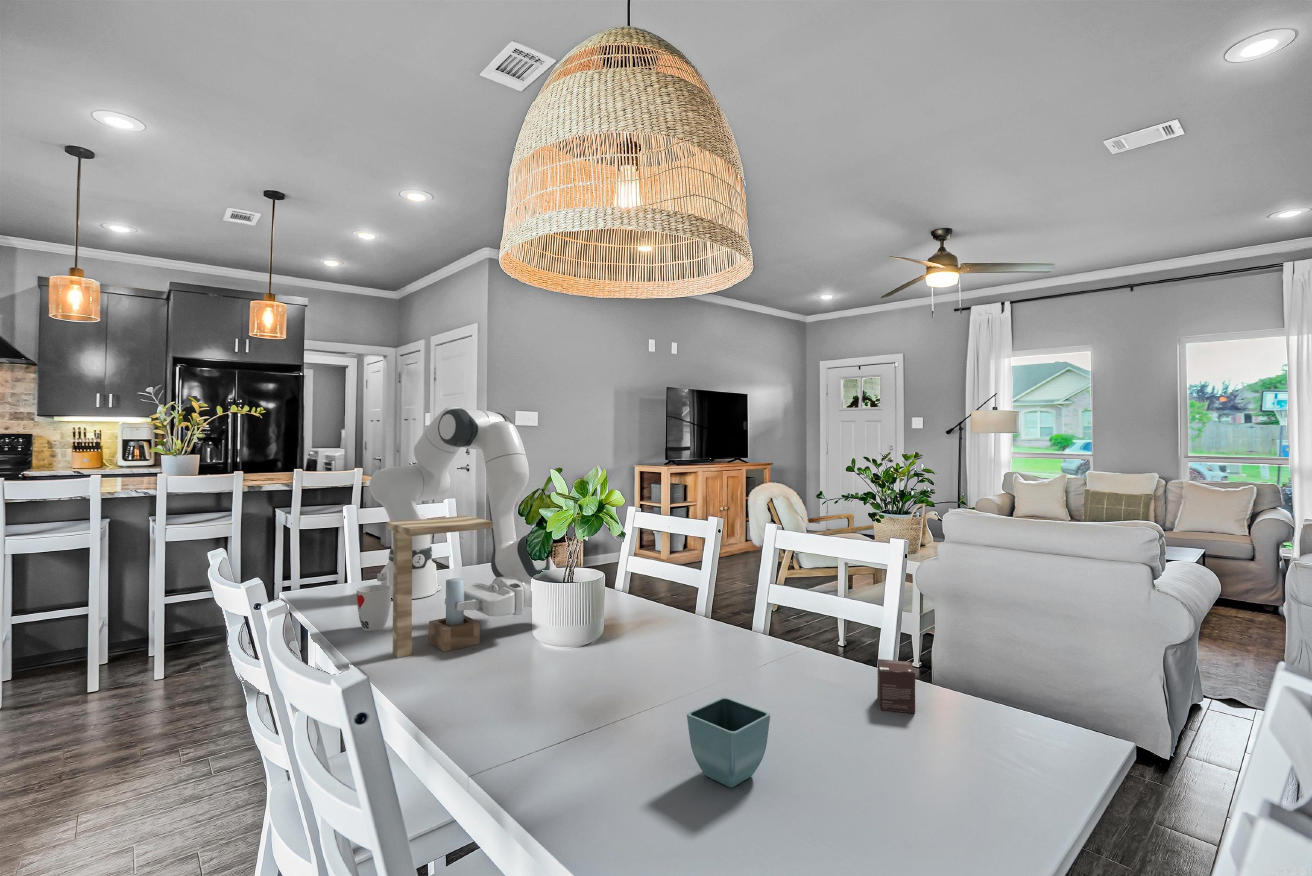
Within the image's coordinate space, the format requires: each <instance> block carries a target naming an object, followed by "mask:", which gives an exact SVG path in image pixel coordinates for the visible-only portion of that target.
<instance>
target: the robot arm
mask: <svg viewBox="0 0 1312 876" xmlns="http://www.w3.org/2000/svg"><path fill="white" fill-rule="evenodd" d="M461 448H463V449H469V450H480V451H481V453H482V455H483V460H484V466H485V471H486V478H487V485H488V512H489V513H488V514H489V521H492V522H493V528H490V529H491V538H492V554H491V559H490V560H491V561H490V567H491V572H492V573H493V575H494V577H495V578H494V579H493V580H492V582H491V583H490V584H489V585H488V584H484V583H481V582H479V583H478V582H477V583H467V584H465V583H464V601H459V602H456V603H455V609H456V610H458V611H462V610H464V611H477V612H479V613H481V614H483V615H485V616H487V617H501V616H502V617H503V616H511V615H513V616H520V615H521V616H522V615H523V614H524V609H525V608H526V609H527V608H531V609H533V608H532V591H531V579H532V577H533V576H534V575H536V574H540V573H541V572H543V571H542V570H554V569H558V568H557V566H556V565H555V564H554V562H553V560H552V558H551V556H550V557H548V559H547V560H545V561H534V560H531V559H530V557H529V554H528V551H527V547H526V538H527V537H528V535H529V534H526V535H524V536H522V537H520V538H517V533H516V532H517V531H516V525H515V517H514V516H515V515H514V513H515V512H514V511H515V507H516V503H517V501H518V500H519V498H520V496H521V495H522V493H523V491H524V490H525V488H526V487H527V486H528V483H529V480H530V469H529V468H530V467H529V461H528V458H527V454H526V450H525V446H524V444H523V440H522V438H521V435H520V433H519V431H518V429H517V427H516V425H515V424H514V423H513V421H512V420H511V418H510V417H508V416H507V415H506V414H503V413H501V412H493V411H489V410H485V409H470V408H469V409H467V408H466V409H464V408H462V407H459V406H453V405H450V406H447V407H445V408H443V410H441V411H440V412H439V413H438V414H437V415H436V417H434V419H433V420H432V421H431V422H430V423H429V424H428V426H427V427H426V429H425V430H424V432H423V433H422V435H421V436H420V437H419V438H418V441H416V443H415V445H414V448H413V456H414V458H415V460H416V463H414V464H411V465H401V466H400V465H398V466H389V467H384V468H382V469H378V470H376V471H375V472H373V474H372V476H371V477H370V480H369V485H368V487H369V492H370V494H371V496H372V498H373V499H374V500H375V501H376V502H378V503H379V504H380V505H381V506H382V507H383V508H384V510H385V511H386V513H387V516H388V518H389V522H396V521H408V520H420V519H428V518H427V517H426V516H424V515H423V514H421V513H420V511H419V509H418V505H417V502H423V501H424V502H426V501H432V500H435V499H438V498H441V497H444V496H445V495H447V493H448V492H449V489H450V487H451V477H450V474H449V472H448V471H447V470H448V467H449V466H450V464H451V462H452V461H453V459H454V458H455V457H456V456H457V454H458V452H459V451H460V450H461ZM393 532H395V531H392V530H390V536H391V548H390V549H389V552H388V562H387V563H386V565H385V566H384V567H383V569H382V570H381V571H380V573H377V574H376V580H377V582H380V584H378V585H389V586H392V592H391V598H392V599H391V600H393ZM432 548H433V547H432V546H431V534H429V535H419V536H412V600H414V599H421V598H426V597H429V596H432V595H434V594H436V593H437V592H438V591H441V590H442V586H441V585H438V578H437V577H438V576H437V573H438V572H437V564H436V563H435V562H434V561H432V558H433V549H432ZM444 605H445V606H446V597H445V599H444Z"/></svg>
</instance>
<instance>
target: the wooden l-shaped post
mask: <svg viewBox="0 0 1312 876" xmlns="http://www.w3.org/2000/svg"><path fill="white" fill-rule="evenodd" d="M491 528H493V522H492V521H490V520H487V519H482V518H477V517H473V516H468V515H461V516H459V515H458V516H449V517H447V516H446V517H436V518H435V517H434V518H432V517H431V518H427V519H420V520H408V521H396V522H390V521H387V522H386V529H387V530H389V531H391V530H392V531H395V532H393V599H392V655H393V656H394V657H395V658H397V659H400V658H403V657H404V656H405V657H408V656H412V653H413V652H412V651H413V650H412V649H413V646H412V645H413V644H412V643H413V641H412V639H413V636H412V635H413V633H412V631H413V629H412V627H413V623H412V622H413V621H412V617H413V614H412V613H413V612H412V611H413V599H412V536H419V535H429V534H430V535H436V534H437V535H438V534H447V533H457V532H466V531H467V532H469V531H477V530H489V529H491ZM399 657H400V658H399Z"/></svg>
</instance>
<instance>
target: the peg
mask: <svg viewBox="0 0 1312 876" xmlns="http://www.w3.org/2000/svg"><path fill="white" fill-rule="evenodd" d="M464 585H465V580H464V578H459V577H458V578H449V579H448V578H447V579H446V580H445V598H446V605H445V618H446V626H448V627H449V626H454V625H459V624H464V615H465V610H462V611H458V610H456V609H455V603H456V602H459V601H464Z"/></svg>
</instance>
